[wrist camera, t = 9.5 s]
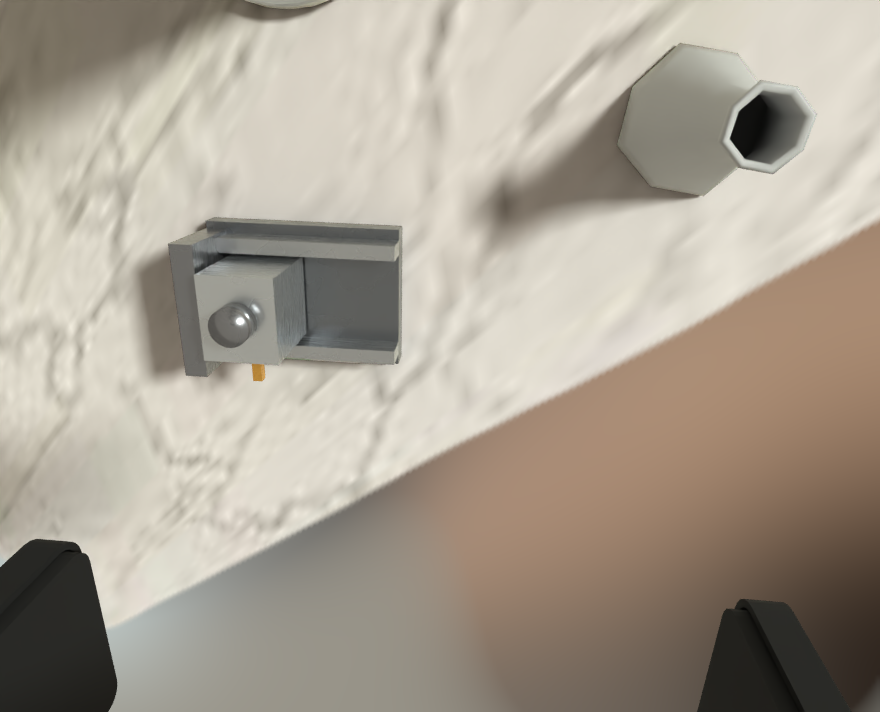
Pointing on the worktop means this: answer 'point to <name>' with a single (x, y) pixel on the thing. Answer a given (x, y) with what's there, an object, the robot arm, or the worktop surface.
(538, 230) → the worktop surface
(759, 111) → the flask
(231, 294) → the knobbed grey cube
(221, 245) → the base
